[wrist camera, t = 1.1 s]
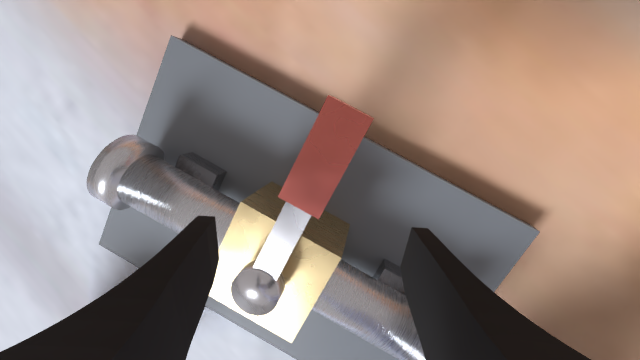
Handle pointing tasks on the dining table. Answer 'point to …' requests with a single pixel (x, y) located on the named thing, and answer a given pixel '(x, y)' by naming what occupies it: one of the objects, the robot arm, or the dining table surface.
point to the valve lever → (302, 201)
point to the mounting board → (275, 165)
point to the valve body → (260, 245)
